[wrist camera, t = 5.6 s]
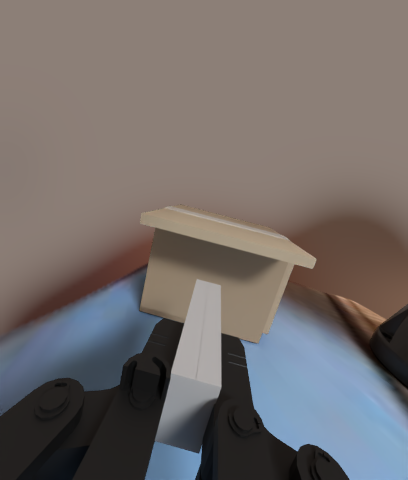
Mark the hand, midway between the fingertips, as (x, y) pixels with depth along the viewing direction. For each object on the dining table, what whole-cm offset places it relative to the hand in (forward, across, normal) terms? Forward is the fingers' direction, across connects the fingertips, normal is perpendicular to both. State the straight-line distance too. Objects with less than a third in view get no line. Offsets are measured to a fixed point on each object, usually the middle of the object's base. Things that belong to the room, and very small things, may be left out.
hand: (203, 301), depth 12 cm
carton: (+14, +1, -8) cm, 16 cm away
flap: (+11, +1, +3) cm, 12 cm away
